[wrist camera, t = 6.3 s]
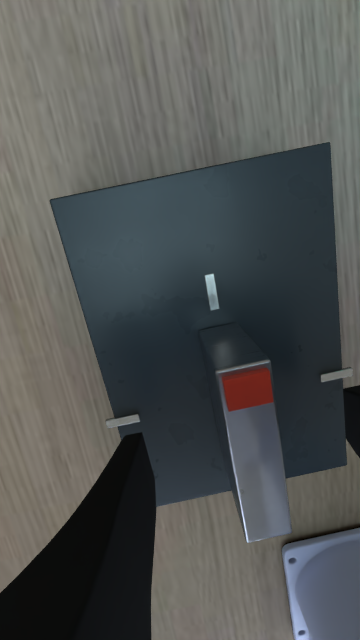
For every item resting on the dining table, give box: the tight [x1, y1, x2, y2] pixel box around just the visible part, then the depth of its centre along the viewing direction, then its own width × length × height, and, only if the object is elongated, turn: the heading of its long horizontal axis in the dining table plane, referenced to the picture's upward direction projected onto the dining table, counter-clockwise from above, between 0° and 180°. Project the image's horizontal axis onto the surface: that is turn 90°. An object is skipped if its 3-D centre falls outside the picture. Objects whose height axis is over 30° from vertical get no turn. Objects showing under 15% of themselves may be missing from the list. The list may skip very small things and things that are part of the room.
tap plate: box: [50, 142, 353, 507], centre depth 14 cm, size 14×11×3 cm
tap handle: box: [198, 323, 292, 542], centre depth 11 cm, size 6×2×4 cm, turn 11°
